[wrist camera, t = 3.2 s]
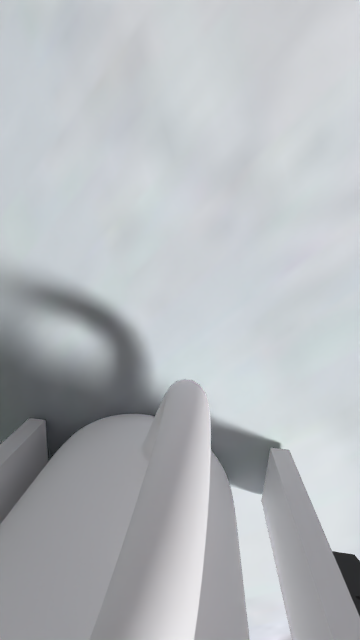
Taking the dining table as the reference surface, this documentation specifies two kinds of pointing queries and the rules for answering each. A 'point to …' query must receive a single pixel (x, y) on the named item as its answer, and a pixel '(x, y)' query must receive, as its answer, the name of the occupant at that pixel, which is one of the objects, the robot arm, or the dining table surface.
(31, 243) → the dining table surface
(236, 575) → the cup
